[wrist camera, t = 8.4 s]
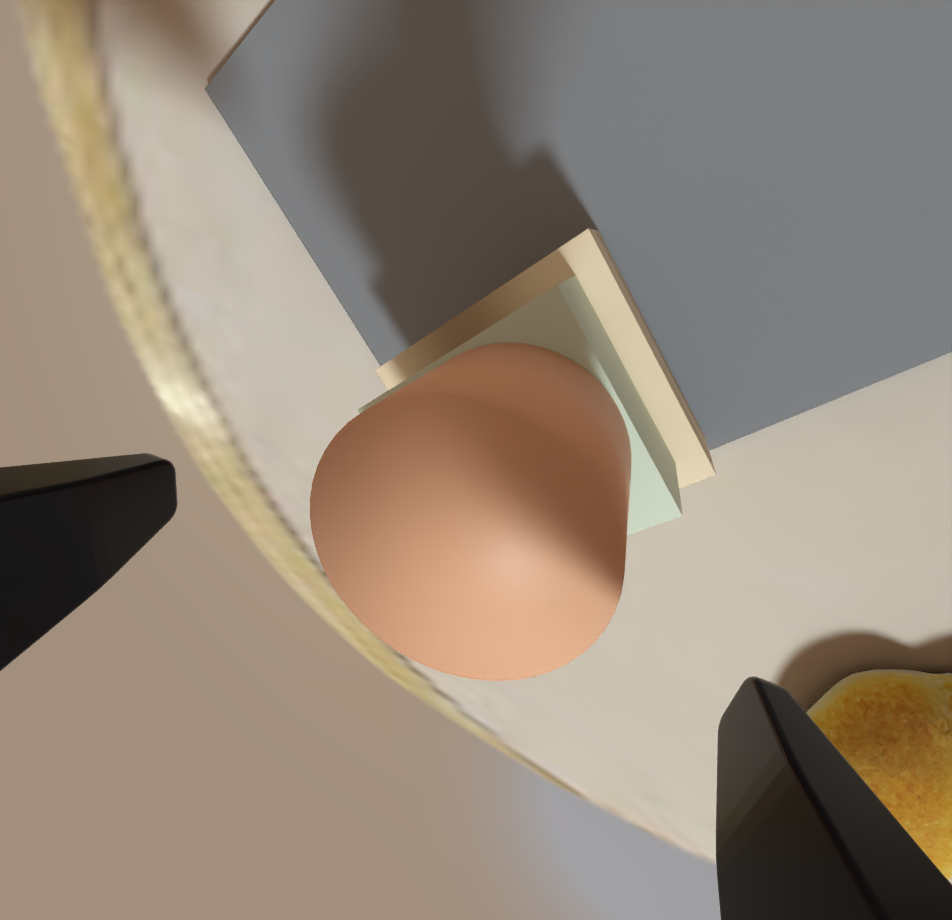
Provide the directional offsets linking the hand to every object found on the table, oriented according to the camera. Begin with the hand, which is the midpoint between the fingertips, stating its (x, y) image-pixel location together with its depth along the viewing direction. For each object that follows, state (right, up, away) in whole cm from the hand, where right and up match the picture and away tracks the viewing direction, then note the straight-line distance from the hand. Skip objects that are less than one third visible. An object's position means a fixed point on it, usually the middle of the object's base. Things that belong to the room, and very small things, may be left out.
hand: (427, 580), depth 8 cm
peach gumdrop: (+2, +2, +4) cm, 5 cm away
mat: (+4, +10, +7) cm, 13 cm away
